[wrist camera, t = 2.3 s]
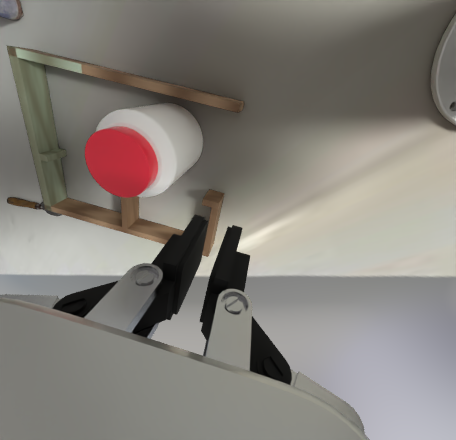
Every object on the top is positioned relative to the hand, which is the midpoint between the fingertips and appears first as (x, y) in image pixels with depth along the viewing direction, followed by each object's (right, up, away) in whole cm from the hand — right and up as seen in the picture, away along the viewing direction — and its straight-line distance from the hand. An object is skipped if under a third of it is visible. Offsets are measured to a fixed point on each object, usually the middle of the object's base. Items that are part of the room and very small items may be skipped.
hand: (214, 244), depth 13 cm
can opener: (-30, +4, +25) cm, 39 cm away
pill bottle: (-6, +11, +15) cm, 20 cm away
